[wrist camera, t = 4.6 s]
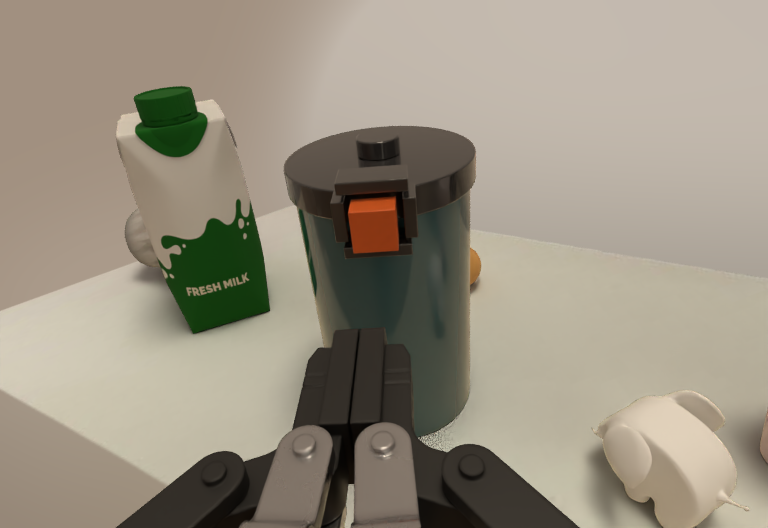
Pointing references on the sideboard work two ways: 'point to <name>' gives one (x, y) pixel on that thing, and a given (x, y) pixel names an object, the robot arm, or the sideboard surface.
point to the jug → (395, 268)
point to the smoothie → (764, 440)
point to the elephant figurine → (671, 456)
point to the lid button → (374, 225)
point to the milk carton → (194, 205)
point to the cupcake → (140, 240)
